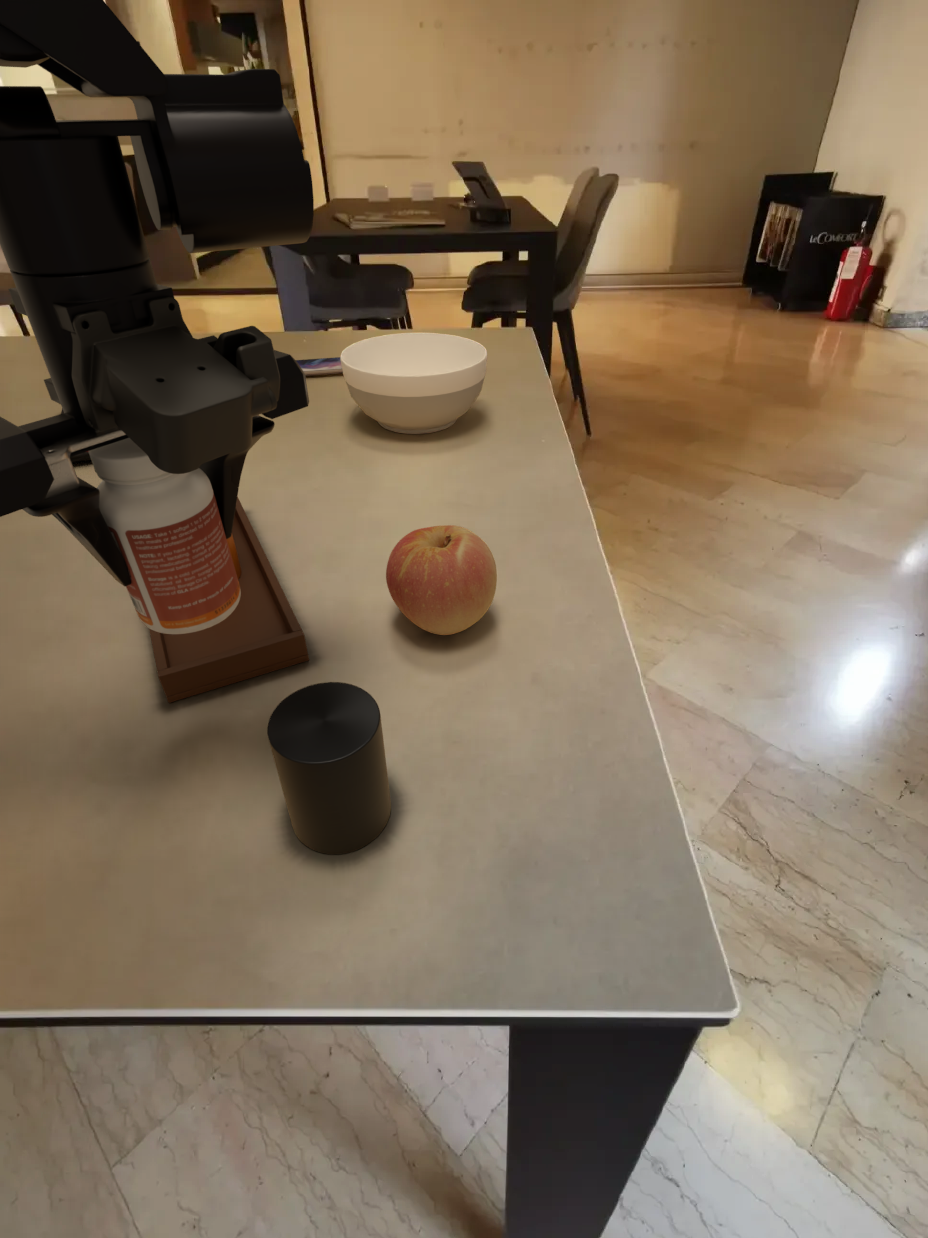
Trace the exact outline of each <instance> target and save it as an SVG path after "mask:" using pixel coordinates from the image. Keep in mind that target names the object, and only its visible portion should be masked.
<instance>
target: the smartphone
mask: <svg viewBox="0 0 928 1238" xmlns="http://www.w3.org/2000/svg"><path fill="white" fill-rule="evenodd" d="M295 360H296V361H297V362H298V364H299V365H300V367H301V369H302V370H303V372H304V373H305V377H308V376H309V377H310V376H322V375H336V374H337V375H338V374H343V370H342V365H341V360H340V356H339V357H338V356H337V357H324V358H306V359H295Z"/></svg>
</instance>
